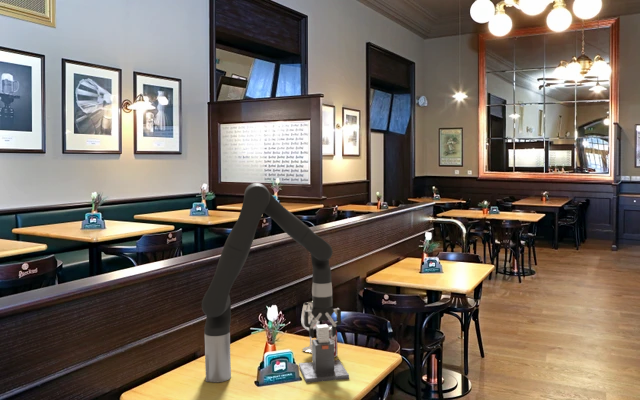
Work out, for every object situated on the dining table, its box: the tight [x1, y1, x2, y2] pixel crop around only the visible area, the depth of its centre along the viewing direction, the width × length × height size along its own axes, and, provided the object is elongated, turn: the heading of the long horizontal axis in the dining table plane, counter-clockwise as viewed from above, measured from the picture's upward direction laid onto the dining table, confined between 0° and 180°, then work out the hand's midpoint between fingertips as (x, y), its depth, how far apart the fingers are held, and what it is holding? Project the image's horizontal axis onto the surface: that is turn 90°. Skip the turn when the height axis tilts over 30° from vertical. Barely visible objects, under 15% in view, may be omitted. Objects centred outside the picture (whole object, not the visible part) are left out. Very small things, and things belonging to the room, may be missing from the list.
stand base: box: [298, 338, 350, 384], centre depth 216 cm, size 16×16×12 cm
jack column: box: [315, 323, 329, 344], centre depth 216 cm, size 4×4×16 cm
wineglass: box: [300, 301, 321, 354], centre depth 241 cm, size 8×8×20 cm
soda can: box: [328, 325, 338, 358], centre depth 234 cm, size 7×7×12 cm
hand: (322, 336), depth 216 cm, fingers open, 7 cm apart
